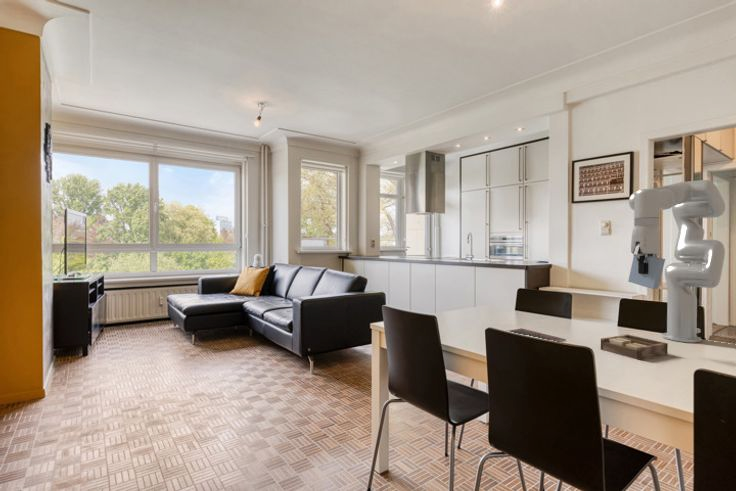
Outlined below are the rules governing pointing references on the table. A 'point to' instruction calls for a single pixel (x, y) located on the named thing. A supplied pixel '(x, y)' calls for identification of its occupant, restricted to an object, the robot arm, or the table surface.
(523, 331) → the picture frame
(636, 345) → the offcut
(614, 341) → the offcut
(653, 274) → the panel
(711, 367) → the table surface
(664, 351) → the rack
